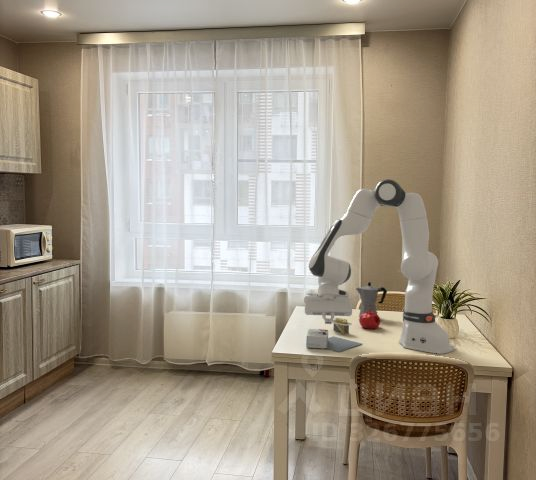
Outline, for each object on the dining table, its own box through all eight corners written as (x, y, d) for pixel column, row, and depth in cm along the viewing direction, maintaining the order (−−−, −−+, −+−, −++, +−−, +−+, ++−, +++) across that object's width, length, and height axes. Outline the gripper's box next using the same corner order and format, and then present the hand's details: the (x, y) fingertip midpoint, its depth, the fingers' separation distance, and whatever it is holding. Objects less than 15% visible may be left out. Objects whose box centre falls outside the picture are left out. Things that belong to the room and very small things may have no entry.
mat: (362, 344, 230) (362, 343, 230) (338, 352, 219) (338, 351, 218) (333, 337, 240) (333, 336, 240) (310, 344, 229) (310, 343, 229)
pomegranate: (358, 329, 255) (358, 310, 254) (359, 324, 264) (359, 305, 263) (380, 331, 252) (380, 311, 251) (380, 325, 262) (381, 306, 261)
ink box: (328, 329, 233) (327, 337, 222) (327, 340, 234) (327, 348, 222) (308, 328, 234) (306, 335, 223) (307, 339, 235) (306, 347, 223)
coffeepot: (356, 319, 274) (357, 283, 272) (354, 315, 283) (355, 280, 281) (387, 320, 273) (388, 284, 271) (384, 315, 282) (385, 281, 280)
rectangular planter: (350, 339, 239) (351, 324, 238) (316, 332, 250) (316, 318, 249) (364, 334, 248) (364, 319, 247) (330, 327, 259) (330, 313, 259)
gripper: (304, 290, 238) (303, 318, 229) (352, 292, 237) (353, 320, 228) (304, 298, 243) (303, 326, 234) (350, 300, 242) (351, 327, 233)
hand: (328, 323), depth 231 cm, fingers closed
